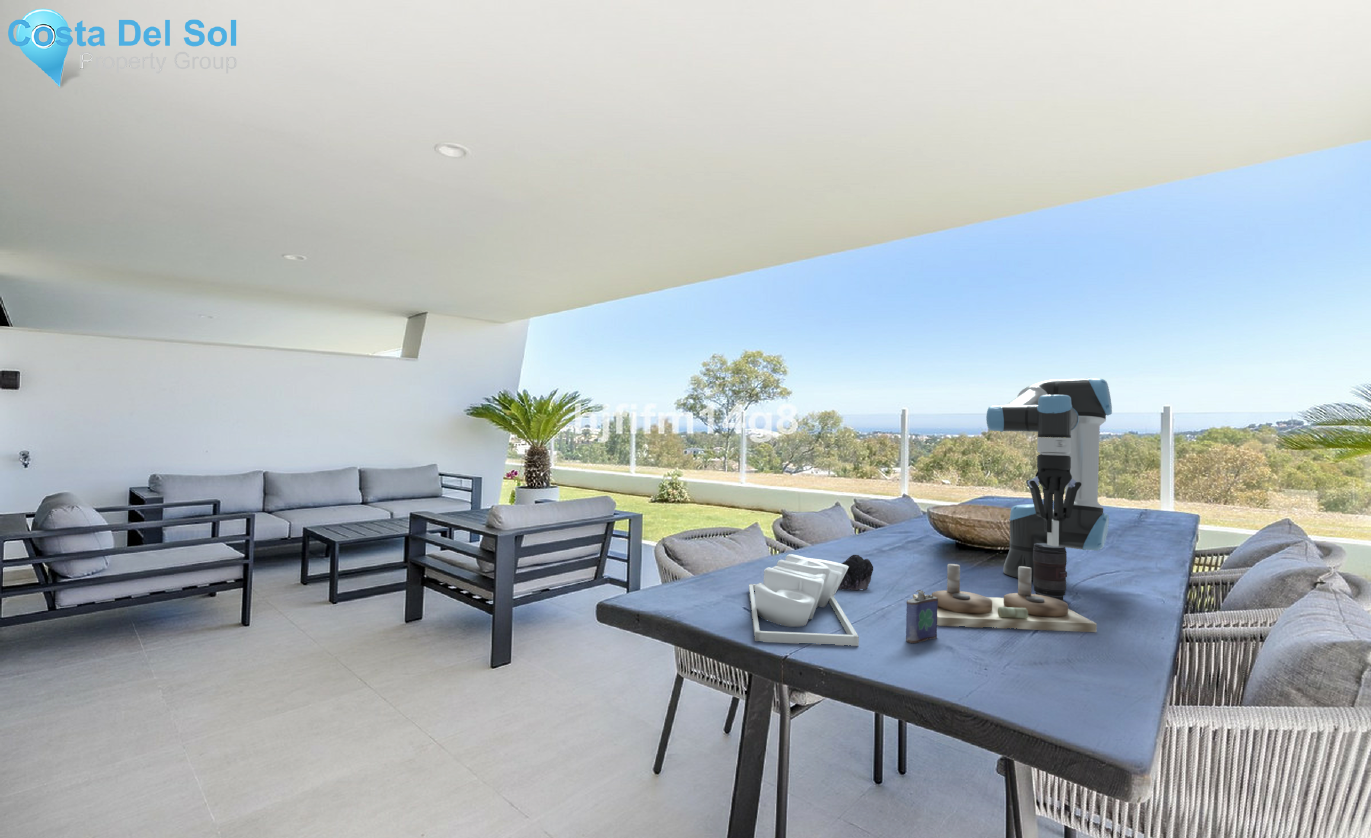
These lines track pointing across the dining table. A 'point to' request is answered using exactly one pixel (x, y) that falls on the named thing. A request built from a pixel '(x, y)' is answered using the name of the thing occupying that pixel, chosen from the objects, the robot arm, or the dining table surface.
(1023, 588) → the dial
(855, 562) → the crystal cluster
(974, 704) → the dining table surface
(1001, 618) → the base
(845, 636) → the white rectangular frame
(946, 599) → the dial
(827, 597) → the wavy white extrusion
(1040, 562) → the camera lens
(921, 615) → the flask
